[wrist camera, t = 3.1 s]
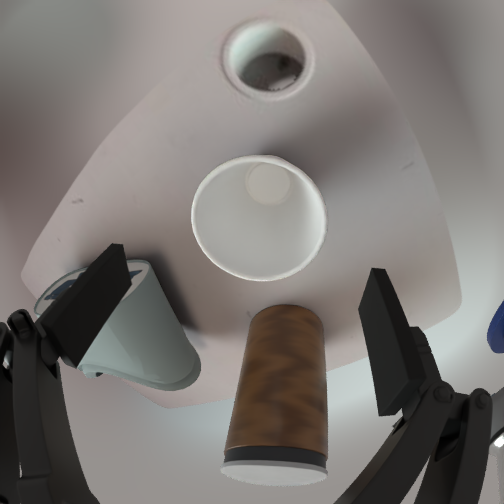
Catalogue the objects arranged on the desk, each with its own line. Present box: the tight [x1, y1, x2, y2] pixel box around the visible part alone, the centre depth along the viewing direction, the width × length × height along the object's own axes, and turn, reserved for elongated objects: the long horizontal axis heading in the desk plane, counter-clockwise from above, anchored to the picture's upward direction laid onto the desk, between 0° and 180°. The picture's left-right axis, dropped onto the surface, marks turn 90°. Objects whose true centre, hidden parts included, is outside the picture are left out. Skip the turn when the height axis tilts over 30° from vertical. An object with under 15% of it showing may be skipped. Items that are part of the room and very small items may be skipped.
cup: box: [191, 155, 328, 281], centre depth 24 cm, size 10×10×11 cm
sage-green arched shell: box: [34, 259, 201, 391], centre depth 37 cm, size 22×19×13 cm
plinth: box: [224, 305, 328, 461], centre depth 31 cm, size 11×11×20 cm
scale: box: [220, 446, 328, 486], centre depth 22 cm, size 11×11×2 cm
